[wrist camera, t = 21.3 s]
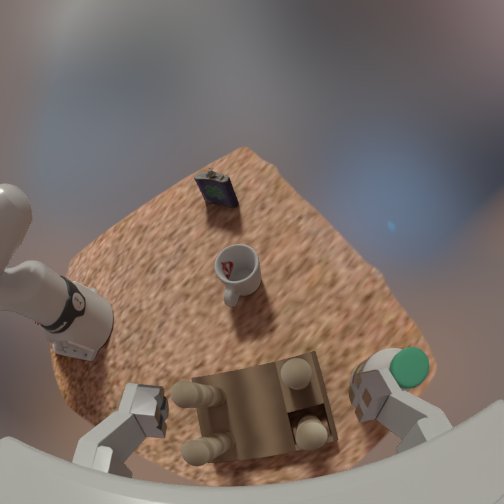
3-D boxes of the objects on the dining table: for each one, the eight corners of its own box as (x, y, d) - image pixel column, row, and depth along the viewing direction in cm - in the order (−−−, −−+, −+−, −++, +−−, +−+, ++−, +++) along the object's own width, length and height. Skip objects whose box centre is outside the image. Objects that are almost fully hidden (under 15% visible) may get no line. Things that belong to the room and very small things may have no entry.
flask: (203, 203, 67) (189, 172, 58) (208, 194, 69) (195, 164, 59) (236, 209, 64) (225, 177, 55) (241, 200, 65) (230, 167, 56)
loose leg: (309, 437, 37) (312, 456, 23) (293, 425, 38) (288, 438, 25) (324, 422, 38) (334, 434, 24) (308, 410, 39) (310, 416, 26)
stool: (213, 459, 37) (173, 480, 23) (197, 379, 45) (154, 368, 32) (336, 437, 36) (351, 455, 22) (314, 353, 44) (319, 332, 31)
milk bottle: (398, 370, 39) (451, 348, 22) (377, 408, 37) (423, 412, 20) (363, 352, 43) (397, 321, 26) (341, 390, 40) (365, 385, 23)
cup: (254, 318, 50) (246, 304, 43) (216, 309, 52) (201, 293, 45) (270, 267, 55) (264, 247, 48) (233, 261, 57) (222, 240, 50)
